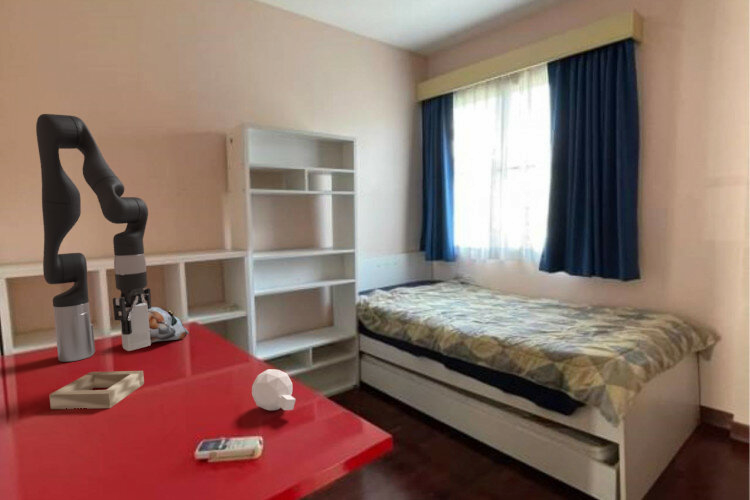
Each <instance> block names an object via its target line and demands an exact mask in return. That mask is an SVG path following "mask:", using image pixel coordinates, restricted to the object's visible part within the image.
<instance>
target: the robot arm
mask: <svg viewBox="0 0 750 500" xmlns="http://www.w3.org/2000/svg"><path fill="white" fill-rule="evenodd" d="M35 131H36V133H35V134H36V142H37V147H38V148H37V149H38V154H39V163H40V172H41V173H40V175H41V176H40V177H41V208H42V222H43V257H42V258H43V261H42V266H43V267H42V272H43V277H44V280H45V282H46V283H47V284H49V285H60V284H63V285H64V284H68V283H69V284H72V283H73V285H72V287H70V288H69V289H67V290H66V291H64V292H61V293H59V294H57V295H55V296H53V297H52V306H53V307H52V309H53V316H54V317H53V318H54V328H55V329H54V330H55V339H56V346H57V358H58V361H59V362H64V363H65V362H75V361H81V360H84V359H88V358H90V357H92V356H93V355H94V353H96V346H95V336H94V325H93V323H92V322H91V312H90V310H91V309H90V299H89V287H88V286H89V285H88V264H87V259H86V257H85V255H84V254H83V253H82V252H70V253H59V251H60V247H61V245H62V243H63V241H64V239H65V238H66V236H67V235H68V233H69V232H70V231H71V230H72V229H73V227H75V225H77V224H76V223H77V222H78V221H79V218H80V217H81V213H82V212H81V209H82V208H81V206H82V205H81V193H80V191H79V190H80V189H78V187H77V185H76V184H75V183H74V182H73V180H72V179H71V178H70V176H69V175H68V174H67V173H66V171H65V170H64V168H63V166H62V162H61V159H60V158H61V157H60V149H61V150H62V149H63V150H64V149H66V150H68V149H69V150H71V149H72V150H73V149H74V150H75V149H76V150H78V151H79V152H80V153H82V155H83V163H82V175H83V179H84V180H85V182H86V184H87V185H88V187H90V189H91V190H92V192H93V193H94V194H95V195H96V198H97V201H98V203H99V207H100V209H101V213H102V215H103V217H104V219H106V220H107V221H108V222H109V223H112V224H115V225H120V224H122V225H123V224H126V227H125V229H124V231H121V232H119V233H116V234H114V235H113V238H112V243H113V244H112V245H113V255H114V259H113V268H114V278H115V279H114V280H115V281H114V282H115V288H116V290H117V291H120V297H114V298H112V306H113V315H114V317H113V318H114V320H115V321H119V322H120V321H121V324H120V327H121V326H122V334H124V335H129V334H131V333H132V327H131V320H130V319H131V315H132V313H133V312H134V311H135V306H136V305H138V304H140V303H146V304H147V305H148V309H151V307H152V296H151V288H146V287H147V286H148V275H147V273H148V271H147V263H146V258H145V257H146V256H145V248H144V247H145V246H144V236H145V232H146V226H147V222H148V217H149V210H148V205H147V203H146V202H145V201H144V200H143V199H142V198H140V197H137V196H135V197H133V196H132V197H130V196H123V195H124V194H125V186H124V184H123V182H122V181H121V179H120V178H119V177H118V176H117V175H116V173H115V171H113V170H112V168H111V167H110V166H109V165H108V163H107V161H106V160H105V158H104V156H103V155H102V152H101V150H100V148H99V146H98V144H97V142H96V140H95V137H93V135H92V133H91V131H90V129H89V127H88V126H87V125H86V123H85V122H84V120H82V119H81V118H80V117H78V116H76V115H66V114H53V113H52V114H51V113H42V114H40V115H39V116H38V117H37V120H36V125H35ZM125 307H131V308H129V309H126V308H125ZM119 312H120V314H119ZM126 312H128V313H127V316H126Z"/></svg>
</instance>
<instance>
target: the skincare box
mask: <svg viewBox="0 0 750 500" xmlns="http://www.w3.org/2000/svg"><path fill="white" fill-rule="evenodd" d="M146 303H147V302H146ZM146 303H140V304H138V305H136V306H135V311H134V312H133V313H132V315H131V319H130V320H131V327H132V333H131V334H129V335H124V334H122V326H121V321H119V322H120V333H121V343H122V348H123V349H124V351H127V352H130V351H134V350H139V349H141V348H146V347H148V346H149V347H150V346H151V344H152V343H151V342H150V329H149V317H148V305H147V304H146ZM125 308H126V309H129V308H131V307H125ZM127 313H128V312H126V316H127ZM119 315H120V312H119Z"/></svg>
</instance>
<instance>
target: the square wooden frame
mask: <svg viewBox="0 0 750 500" xmlns="http://www.w3.org/2000/svg"><path fill="white" fill-rule="evenodd" d="M144 384H145V378H144V370H124V371H123V370H121V371H120V370H119V371H115V370H114V371H90V372H88V373H86V374H85V375H83V376H81V377H79V378H77V379H76V380H73V381H71V382H69V383H68V384H66V385H65V386H63V387H61V388H59V389H57V390H55V391H53V392H51V393H50V394H49V403H50V404H49V406H50V410H76V409H77V408H79V410H80V408H82V409H83V408H87V409H112V407H114V406H115V405H117V404H118V403H120V402H121V401H122V400H124V399H125V398H126V397H128V396H129V395H131V394H132V393H133V392H135V391H136V390H138V389H139V388H141V387H142V386H143V385H144ZM97 388H99V389H97ZM100 388H101V389H100ZM102 388H103V389H102ZM104 388H107V389H104ZM93 389H95V390H93ZM96 389H97V390H96ZM66 408H67V409H66ZM74 408H76V409H74Z"/></svg>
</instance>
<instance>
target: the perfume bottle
mask: <svg viewBox="0 0 750 500" xmlns="http://www.w3.org/2000/svg"><path fill="white" fill-rule="evenodd" d="M293 385H294V384H293V382H292V380H291V378H290V376H289V374H288V373H286V372H284V371H282V370H280V369H274V368H272V369H271V368H270V369H269V368H268V369H266V370H264V371H262V372H261V373H259V374H257V376H256V378H255V380H254V382H253V383H252V386H251V395H252V396H251V397H252V398H253V400H254V403H255V404H256V406H257V407H259V408H261V409H264V410H267V411H278V410H279V409H282V410H283V411H292V410H294V407H295V404H296V401H297V400H296V398H295V397H294V396H292V394H293Z"/></svg>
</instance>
